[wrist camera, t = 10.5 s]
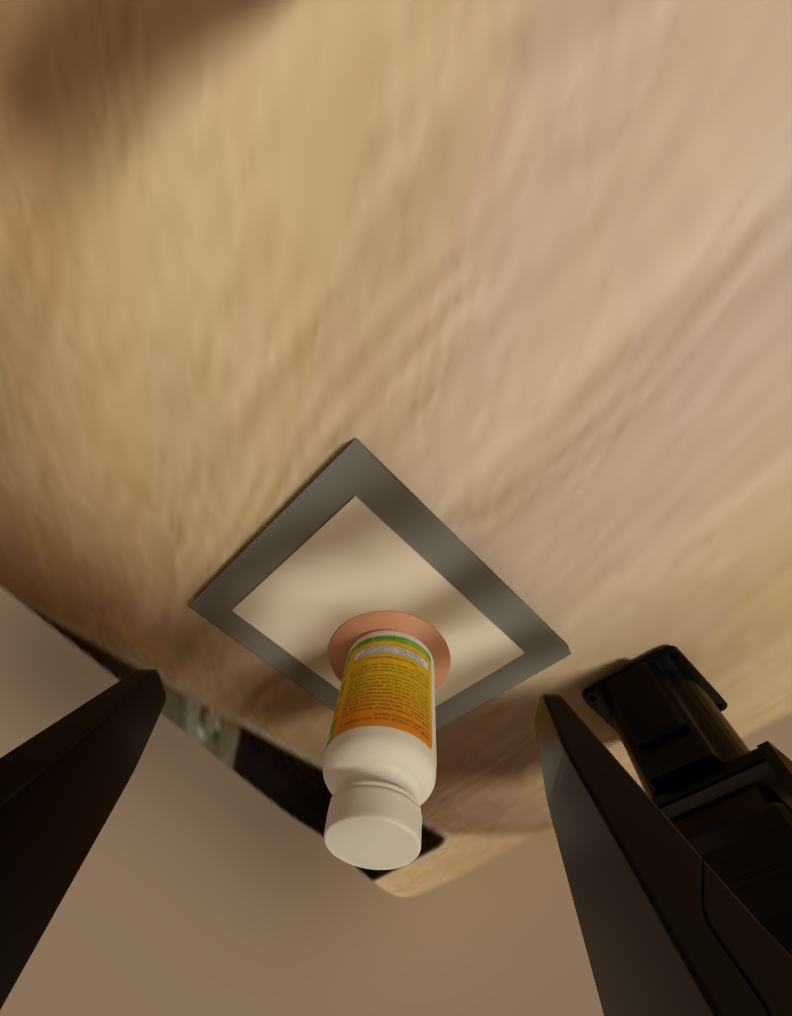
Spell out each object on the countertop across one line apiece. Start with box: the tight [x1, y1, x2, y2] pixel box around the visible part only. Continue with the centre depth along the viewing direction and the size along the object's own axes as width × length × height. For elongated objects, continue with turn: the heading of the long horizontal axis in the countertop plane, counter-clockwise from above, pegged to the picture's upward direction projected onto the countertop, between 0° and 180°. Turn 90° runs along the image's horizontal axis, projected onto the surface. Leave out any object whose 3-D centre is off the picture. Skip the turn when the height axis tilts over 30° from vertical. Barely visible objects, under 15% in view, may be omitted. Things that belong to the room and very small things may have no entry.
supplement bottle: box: [323, 630, 437, 870], centre depth 21 cm, size 5×5×10 cm
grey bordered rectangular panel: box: [189, 438, 571, 730], centre depth 25 cm, size 18×15×1 cm
